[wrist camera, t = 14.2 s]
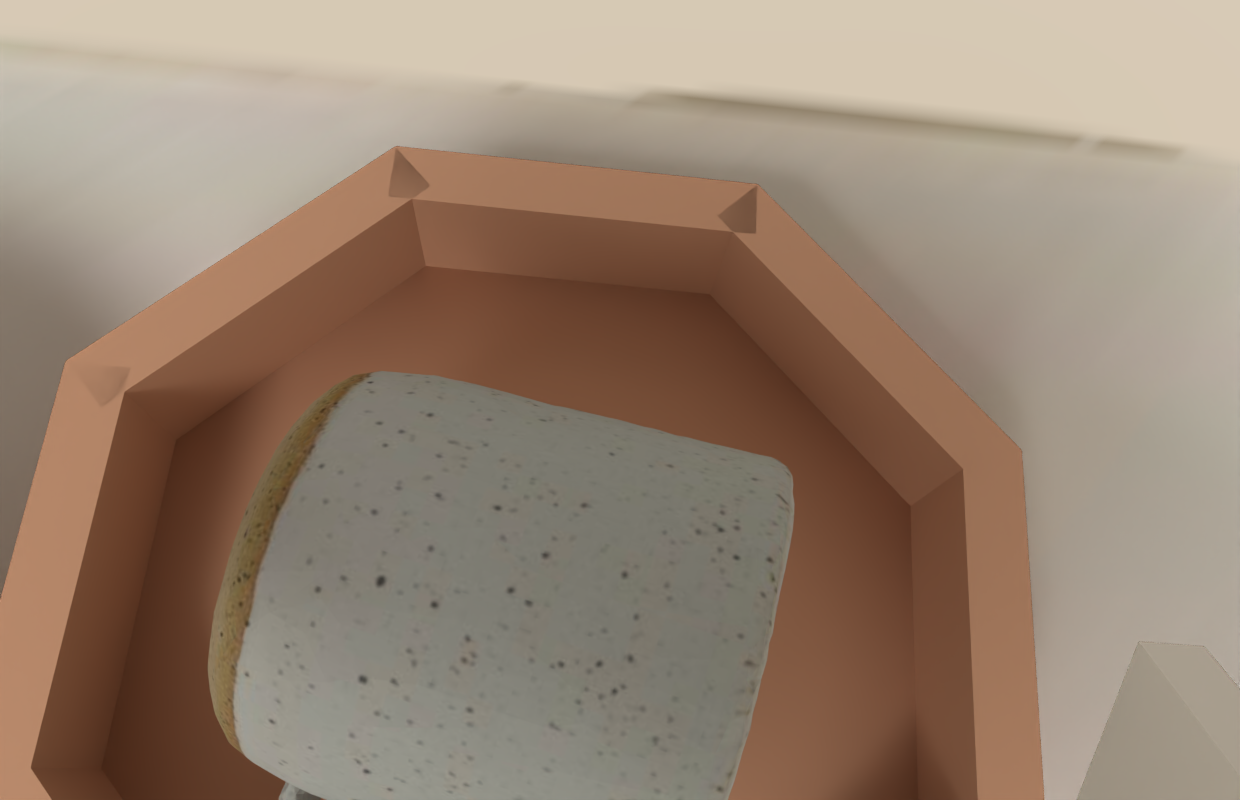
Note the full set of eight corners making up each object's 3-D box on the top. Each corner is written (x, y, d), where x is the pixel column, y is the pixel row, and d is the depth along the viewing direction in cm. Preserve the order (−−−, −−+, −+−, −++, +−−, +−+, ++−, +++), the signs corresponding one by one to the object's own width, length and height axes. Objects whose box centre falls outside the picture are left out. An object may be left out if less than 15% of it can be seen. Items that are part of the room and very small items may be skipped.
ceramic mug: (384, 419, 23) (310, 262, 15) (747, 519, 23) (846, 410, 15) (194, 946, 19) (-16, 1066, 12) (622, 1068, 19) (673, 1264, 12)
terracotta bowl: (-24, 1108, 19) (-162, 1191, 15) (192, 216, 25) (131, 118, 21) (970, 1164, 20) (1074, 1257, 16) (937, 291, 26) (1006, 210, 22)
